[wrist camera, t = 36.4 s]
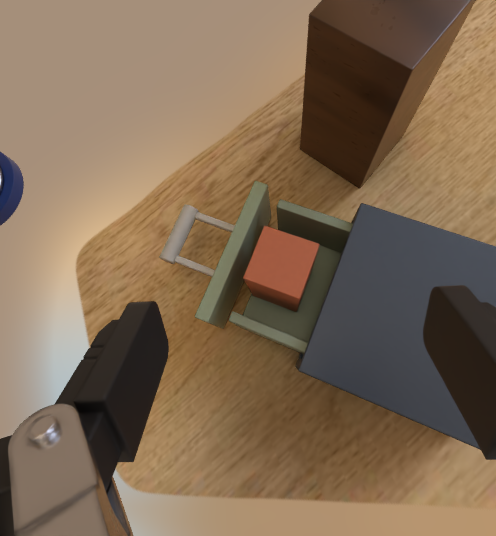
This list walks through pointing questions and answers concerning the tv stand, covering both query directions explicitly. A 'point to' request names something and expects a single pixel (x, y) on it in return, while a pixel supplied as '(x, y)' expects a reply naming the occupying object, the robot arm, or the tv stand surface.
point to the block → (280, 268)
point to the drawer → (239, 255)
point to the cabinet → (395, 315)
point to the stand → (370, 76)
